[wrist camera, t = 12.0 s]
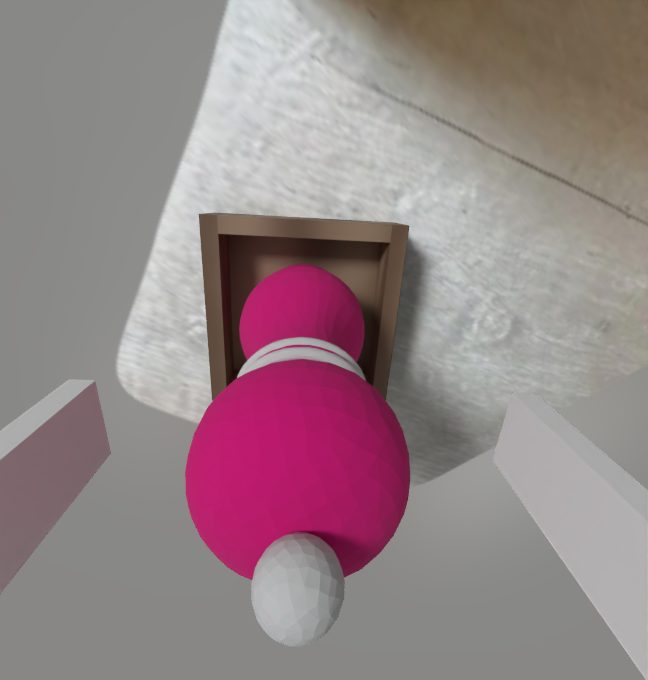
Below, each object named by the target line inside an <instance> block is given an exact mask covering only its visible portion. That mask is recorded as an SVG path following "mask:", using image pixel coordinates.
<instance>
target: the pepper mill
mask: <svg viewBox="0 0 648 680" xmlns="http://www.w3.org/2000/svg"><path fill="white" fill-rule="evenodd" d="M239 332H240V341H241V345H242V348H243V351H244V354H245V356H246V359H247V362H246V363H245V364H244V365H243V367H242V368H241V370H240V372H239V374H238V376H237V379H235V380H234V381H233V382H232V383H231V384H230V385H228V386H227V387H226V388H225V389H224V390H223V391H222V392H220V393H219V394H218V395H217V397H216V398H215V399H214V400H213V402H212V403H211V404H210V406H209V407H208V408H207V410H206V412H205V414H204V416H203V418H202V420H201V421H200V423H199V425H198V427H197V429H196V431H195V433H194V437H193V440H192V444H191V447H190V451H189V454H188V459H187V465H186V472H185V473H186V474H185V477H186V496H187V502H188V507H189V510H190V513H191V517H192V520H193V522H194V524H195V526H196V528H197V530H198V533H199V535H200V537H201V538H202V540H203V541H204V542H205V543H206V545H207V546H208V548H209V549H210V550H211V551H212V552H213V553H214V554H215V555H216V557H217V558H218V559H219V560H220V561H222V562H223V563H224V564H225V565H226V566H227V567H228V568H230V569H231V570H233V571H234V572H236V573H238V574H239V575H241V576H244V577H246V578H249V579H251V580H252V586H251V594H252V605H253V608H254V611H255V614H256V617H257V621H258V622H259V624H260V625H261V627H262V628H263V629H264V631H265V632H266V633H267V634H268V635H269V636H270V637H271V638H273V639H274V640H275V641H277V642H280V643H283V644H285V645H288V646H291V647H295V646H306V645H308V644H310V643H312V642H314V641H317V640H318V639H320V638H321V637H322V636H324V635H325V634H326V633H327V632H328V631H329V629H330V628H331V626H332V625H333V624H334V622H335V621H336V619H337V617H338V615H339V612H340V609H341V606H342V603H343V600H344V577H346V576H348V575H350V574H352V573H354V572H357V571H359V570H360V569H362V568H363V567H364V566H365V565H367V564H368V563H369V562H370V561H371V560H372V559H373V558H374V557H376V556H377V555H378V554H379V553H380V552H381V551H382V549H383V548H384V547H385V546H386V544H387V543H388V542H389V541H390V539H391V538H392V537H393V535H394V533H395V531H396V529H397V527H398V525H399V523H400V521H401V519H402V517H403V515H404V512H405V508H406V505H407V501H408V494H409V485H410V466H409V453H408V449H407V445H406V441H405V438H404V434H403V430H402V428H401V426H400V424H399V422H398V419H397V417H396V415H395V413H394V412H393V411H392V409H391V408H390V406H389V405H388V404H387V402H386V401H385V400H384V398H383V397H382V395H381V394H380V393H379V391H378V390H377V389H376V388H375V387H373V386H372V385H371V384H369V383H368V382H367V381H366V379H365V377H364V374H363V372H362V370H361V368H360V367H359V366H358V364H357V363H356V362H357V361H358V358H359V356H360V353H361V350H362V346H363V341H364V335H365V333H364V320H363V315H362V310H361V308H360V305H359V302H358V300H357V298H356V296H355V295H354V293H353V292H352V291H351V289H350V288H349V287H348V286H347V285H346V284H345V283H344V282H343V281H342V280H341V279H339V278H338V277H336V276H335V275H333V274H331V273H329V272H328V271H326V270H324V269H322V268H320V267H317V266H314V265H309V264H296V265H291V266H288V267H285V268H283V269H281V270H279V271H277V272H275V273H273V274H271V275H269V276H268V277H266V278H264V279H263V280H262V281H261V282H260V283H259V284H257V286H256V287H255V288H254V289H253V290H252V292H251V293H250V295H249V297H248V298H247V300H246V303H245V305H244V308H243V311H242V315H241V318H240V326H239Z"/></svg>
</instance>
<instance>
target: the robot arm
mask: <svg viewBox="0 0 648 680" xmlns="http://www.w3.org/2000/svg"><path fill="white" fill-rule="evenodd" d="M110 454H111V451H110V447H109V442H108V438H107V433H106V429H105V424H104V419H103V415H102V410H101V406H100V401H99V397H98V392H97V387H96V383H95V380H68V381H66V382H65V383H64V384H62V385H61V386H60V387H58V388H57V389H56V390H54V391H53V392H52V393H50V394H49V395H48V396H46V397H45V398H44V399H43V400H41V401H40V402H38V403H37V404H35V405H34V406H33V407H32V408H30V409H29V410H27V411H26V412H25V413H23V414H22V415H21V416H19V417H18V418H17V419H15V420H14V421H13V422H11V423H10V424H9V425H7V426H6V427H5V428H3V429H2V430H1V431H0V594H1V592H2V591H3V590H4V589H5V587H6V586H7V585H8V583H9V582H10V581H11V579H12V578H13V577H14V576H15V575H16V573H17V572H18V571H19V569H20V568H21V567H22V566H23V564H24V563H25V562H26V561H27V559H28V558H29V557H30V555H31V554H32V553H33V551H34V550H35V549H36V548H37V547H38V545H39V544H40V543H41V541H42V540H43V539H44V538H45V536H46V535H47V534H48V532H49V531H50V530H51V528H52V527H53V526H54V525H55V524H56V522H57V521H58V520H59V519H60V517H61V516H62V515H63V513H64V512H65V511H66V510H67V508H68V507H69V506H70V504H71V503H72V502H73V501H74V499H75V498H76V497H77V496H78V494H79V493H80V492H81V490H82V489H83V488H84V487H85V485H86V484H87V483H88V482H89V480H90V479H91V478H92V477H93V475H94V474H95V473H96V471H97V470H98V469H99V468H100V466H101V465H102V464H103V463H104V461H105V460H106V459H107V457H108V456H109V455H110ZM492 460H493V462H494V463H495V465H496V466H497V468H498V469H499V470H500V472H501V473H502V475H503V476H504V478H505V479H506V480H507V482H508V483H509V485H510V486H511V488H512V489H513V490H514V492H515V493H516V495H517V496H518V498H519V499H520V500H521V502H522V503H523V505H524V506H525V508H526V509H527V510H528V512H529V513H530V515H531V516H532V517H533V519H534V520H535V522H536V523H537V525H538V526H539V528H540V529H541V530H542V532H543V533H544V535H545V536H546V538H547V539H548V540H549V542H550V543H551V545H552V546H553V548H554V549H555V550H556V552H557V553H558V555H559V556H560V558H561V559H562V560H563V562H564V563H565V565H566V566H567V568H568V569H569V571H570V572H571V573H572V575H573V576H574V578H575V579H576V581H577V582H578V583H579V585H580V586H581V587H582V589H583V591H584V592H585V593H586V595H587V596H588V598H589V599H590V600H591V602H592V603H593V605H594V606H595V608H596V609H597V610H598V612H599V613H600V615H601V616H602V617H603V619H604V621H605V622H606V623H607V625H608V626H609V628H610V629H611V631H612V632H613V633H614V635H615V636H616V638H617V639H618V641H619V642H620V643H621V645H622V646H623V648H624V649H625V651H626V652H627V653H628V655H629V656H630V658H631V659H632V661H633V662H634V663H635V665H636V666H637V668H638V669H639V671H640V672H641V673H642V675H643V676H644V678H645V679H646V680H648V490H647V489H646V488H644V487H643V486H642V485H641V484H639V483H638V482H637V481H636V480H635V479H634V478H633V477H632V476H631V475H629V474H628V473H627V472H626V471H625V470H624V469H622V468H621V467H620V466H619V465H618V464H617V463H615V462H614V461H613V460H612V459H611V458H609V457H608V456H607V455H606V454H605V453H604V452H603V451H601V450H600V449H599V448H598V447H597V446H596V445H594V444H593V443H592V442H591V441H590V440H589V439H588V438H586V437H585V436H584V435H583V434H582V433H581V432H579V431H578V430H577V429H576V428H575V427H574V426H572V425H571V424H570V423H569V422H568V421H567V420H565V419H564V418H563V417H562V416H561V415H560V414H558V413H557V412H556V411H555V410H554V409H553V408H552V407H550V406H549V405H548V404H547V403H546V402H545V401H543V400H542V399H541V398H540V397H539V396H538V395H536V394H535V393H512V395H511V399H510V402H509V405H508V409H507V412H506V415H505V419H504V422H503V425H502V429H501V432H500V436H499V439H498V442H497V446H496V449H495V452H494V456H493V459H492Z"/></svg>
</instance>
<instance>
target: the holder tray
mask: <svg viewBox="0 0 648 680" xmlns="http://www.w3.org/2000/svg"><path fill="white" fill-rule="evenodd" d="M199 223H200V237H201V251H202V264H203V278H204V292H205V306H206V320H207V334H208V348H209V362H210V375H211V389H212V400H214V399H215V398H216V397H217V395H218V394H219V393H220V392H222V391H223V390H224V389H225V388H226V387H227V386H228V385H230V384H231V383H232V382H233V381H234V380H235V379H237V376H238V374H239V372H240V370H241V368H242V367H243V365H244V364H245V363H246V362H247V359H246V356H245V354H244V351H243V348H242V345H241V341H240V332H239V326H240V318H241V315H242V311H243V308H244V305H245V303H246V300H247V298H248V297H249V295H250V293H251V292H252V290H253V289H254V288H255V287H256V286H257V284H259V283H260V282H261V281H262V280H263V279H264V278H266V277H268V276H269V275H271V274H273V273H275V272H277V271H279V270H281V269H283V268H285V267H288V266H291V265H296V264H309V265H314V266H317V267H320V268H322V269H324V270H326V271H328V272H329V273H331V274H333V275H335V276H336V277H338V278H339V279H341V280H342V281H343V282H344V283H345V284H346V285H347V286H348V287H349V288H350V289H351V291H352V292H353V293H354V295H355V296H356V298H357V300H358V302H359V305H360V308H361V310H362V315H363V320H364V333H365V335H364V341H363V346H362V350H361V353H360V356H359V358H358V361H357V362H356V363H357V364H358V366H359V367H360V368H361V370H362V372H363V374H364V377H365V379H366V381H367V382H368V383H369V384H371V385H372V386H373V387H375V388H376V389H377V390H378V391H379V393H380V394H381V395H382V397H383V398H384V400H386V393H387V386H388V378H389V371H390V364H391V357H392V349H393V342H394V335H395V327H396V320H397V313H398V305H399V298H400V291H401V283H402V276H403V269H404V261H405V254H406V247H407V240H408V232H409V226H408V225H403V224H398V223H389V222H371V221H353V220H335V219H318V218H300V217H282V216H264V215H246V214H228V213H206V214H199Z"/></svg>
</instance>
